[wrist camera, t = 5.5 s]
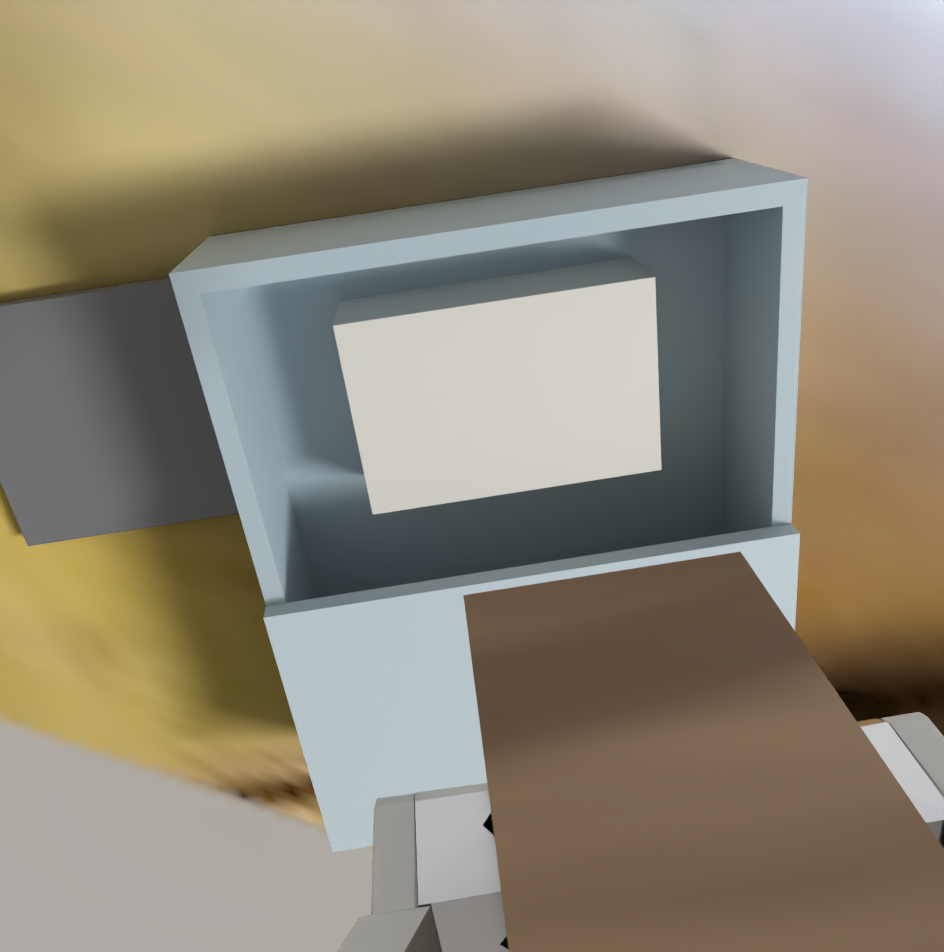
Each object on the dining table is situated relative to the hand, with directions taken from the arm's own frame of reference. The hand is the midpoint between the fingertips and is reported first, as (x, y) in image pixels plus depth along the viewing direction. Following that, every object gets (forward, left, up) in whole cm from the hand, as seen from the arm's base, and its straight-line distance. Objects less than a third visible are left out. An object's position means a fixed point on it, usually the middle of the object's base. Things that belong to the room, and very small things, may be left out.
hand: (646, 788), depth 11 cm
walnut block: (0, 0, -2) cm, 2 cm away
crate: (+5, 0, -18) cm, 19 cm away
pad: (0, -13, -18) cm, 22 cm away
